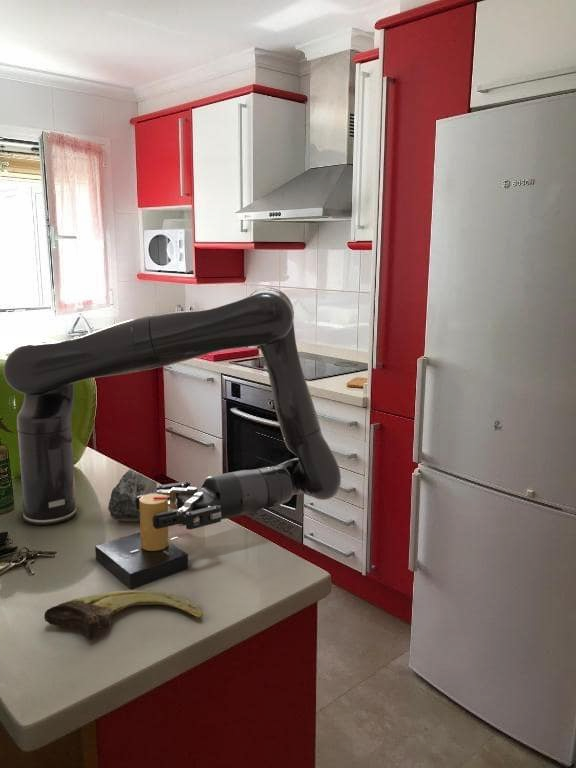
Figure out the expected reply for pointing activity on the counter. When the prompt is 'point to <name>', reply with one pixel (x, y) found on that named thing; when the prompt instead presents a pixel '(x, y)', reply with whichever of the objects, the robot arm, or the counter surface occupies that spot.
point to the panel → (139, 560)
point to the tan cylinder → (150, 535)
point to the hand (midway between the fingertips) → (144, 512)
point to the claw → (109, 609)
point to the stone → (129, 495)
